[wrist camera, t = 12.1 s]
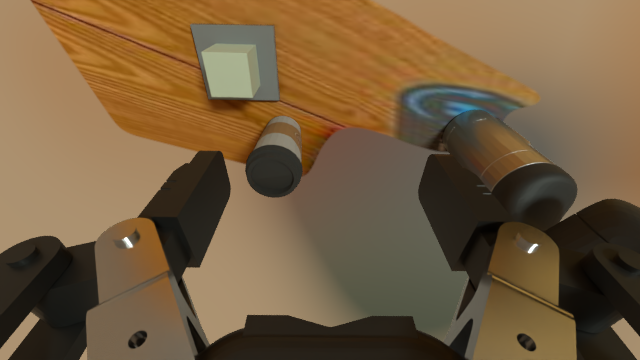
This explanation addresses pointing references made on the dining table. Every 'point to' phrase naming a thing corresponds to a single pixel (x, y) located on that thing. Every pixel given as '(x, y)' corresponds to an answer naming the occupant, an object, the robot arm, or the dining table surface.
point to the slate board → (243, 35)
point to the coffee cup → (276, 159)
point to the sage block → (232, 70)
